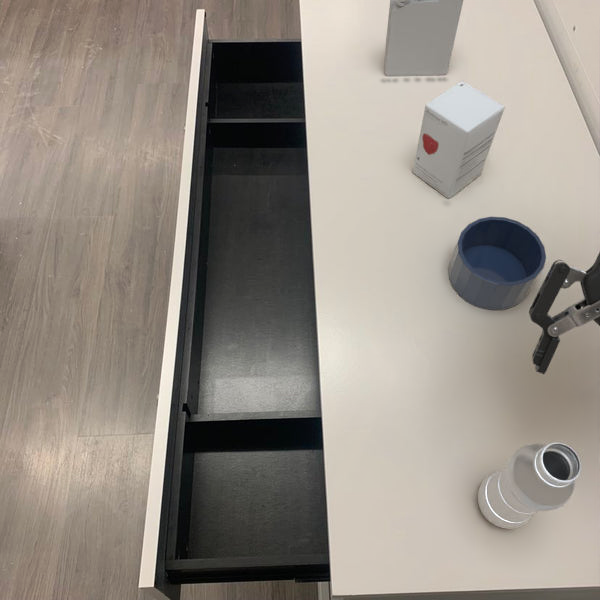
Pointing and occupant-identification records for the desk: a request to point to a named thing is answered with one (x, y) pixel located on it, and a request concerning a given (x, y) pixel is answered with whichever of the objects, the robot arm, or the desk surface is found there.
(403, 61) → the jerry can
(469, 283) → the bowl
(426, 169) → the white product box
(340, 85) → the desk surface
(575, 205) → the desk surface
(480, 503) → the silver bottle
